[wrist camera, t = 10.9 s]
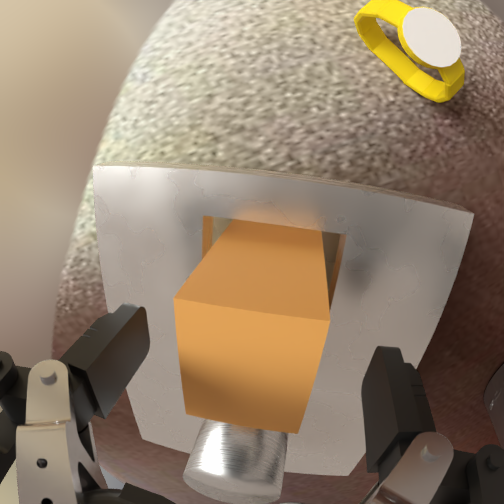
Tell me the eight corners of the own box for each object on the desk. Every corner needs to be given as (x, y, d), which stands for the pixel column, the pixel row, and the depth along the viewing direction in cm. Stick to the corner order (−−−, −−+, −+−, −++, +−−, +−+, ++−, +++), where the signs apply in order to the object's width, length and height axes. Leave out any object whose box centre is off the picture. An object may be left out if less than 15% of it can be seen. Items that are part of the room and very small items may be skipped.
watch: (440, 83, 14) (496, 78, 8) (413, 110, 15) (465, 115, 9) (367, 9, 12) (399, -30, 7) (337, 36, 13) (360, 3, 8)
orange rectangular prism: (318, 212, 16) (330, 321, 7) (306, 293, 18) (297, 433, 9) (245, 203, 17) (173, 297, 8) (240, 284, 19) (185, 414, 10)
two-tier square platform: (436, 186, 16) (573, 278, 5) (353, 421, 24) (355, 539, 13) (143, 150, 18) (-19, 197, 7) (161, 389, 26) (107, 491, 15)
